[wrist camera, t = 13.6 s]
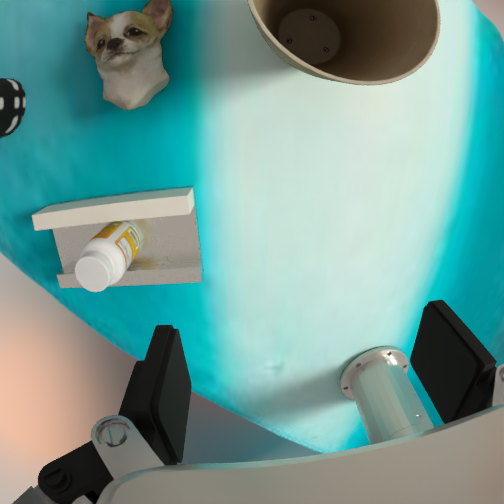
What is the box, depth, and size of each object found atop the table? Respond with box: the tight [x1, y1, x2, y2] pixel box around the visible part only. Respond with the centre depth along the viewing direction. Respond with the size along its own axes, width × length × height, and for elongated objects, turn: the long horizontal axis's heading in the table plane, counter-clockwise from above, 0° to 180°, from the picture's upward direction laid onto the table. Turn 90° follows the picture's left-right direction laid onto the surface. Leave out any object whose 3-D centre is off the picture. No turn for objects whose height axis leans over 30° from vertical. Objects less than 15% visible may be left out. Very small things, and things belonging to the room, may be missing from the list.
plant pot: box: [247, 0, 440, 85], centre depth 23 cm, size 15×15×16 cm
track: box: [32, 186, 204, 288], centre depth 37 cm, size 20×11×5 cm, turn 93°
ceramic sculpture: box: [84, 0, 173, 110], centre depth 27 cm, size 11×9×15 cm
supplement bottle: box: [75, 221, 141, 292], centre depth 34 cm, size 5×5×10 cm
